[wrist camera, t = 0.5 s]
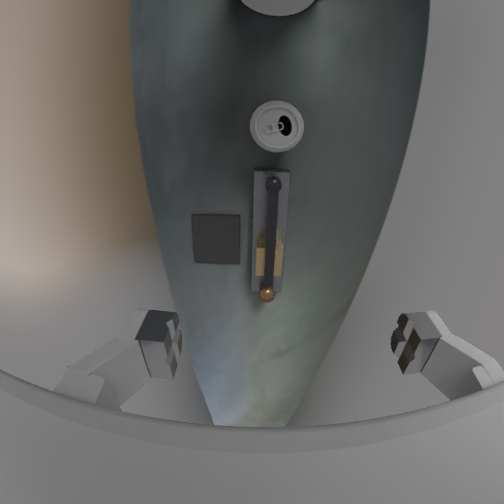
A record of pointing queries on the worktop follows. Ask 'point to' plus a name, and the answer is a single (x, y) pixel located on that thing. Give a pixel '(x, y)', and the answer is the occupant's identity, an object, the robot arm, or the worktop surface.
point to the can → (276, 126)
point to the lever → (271, 228)
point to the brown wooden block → (261, 257)
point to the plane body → (260, 225)
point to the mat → (216, 238)
